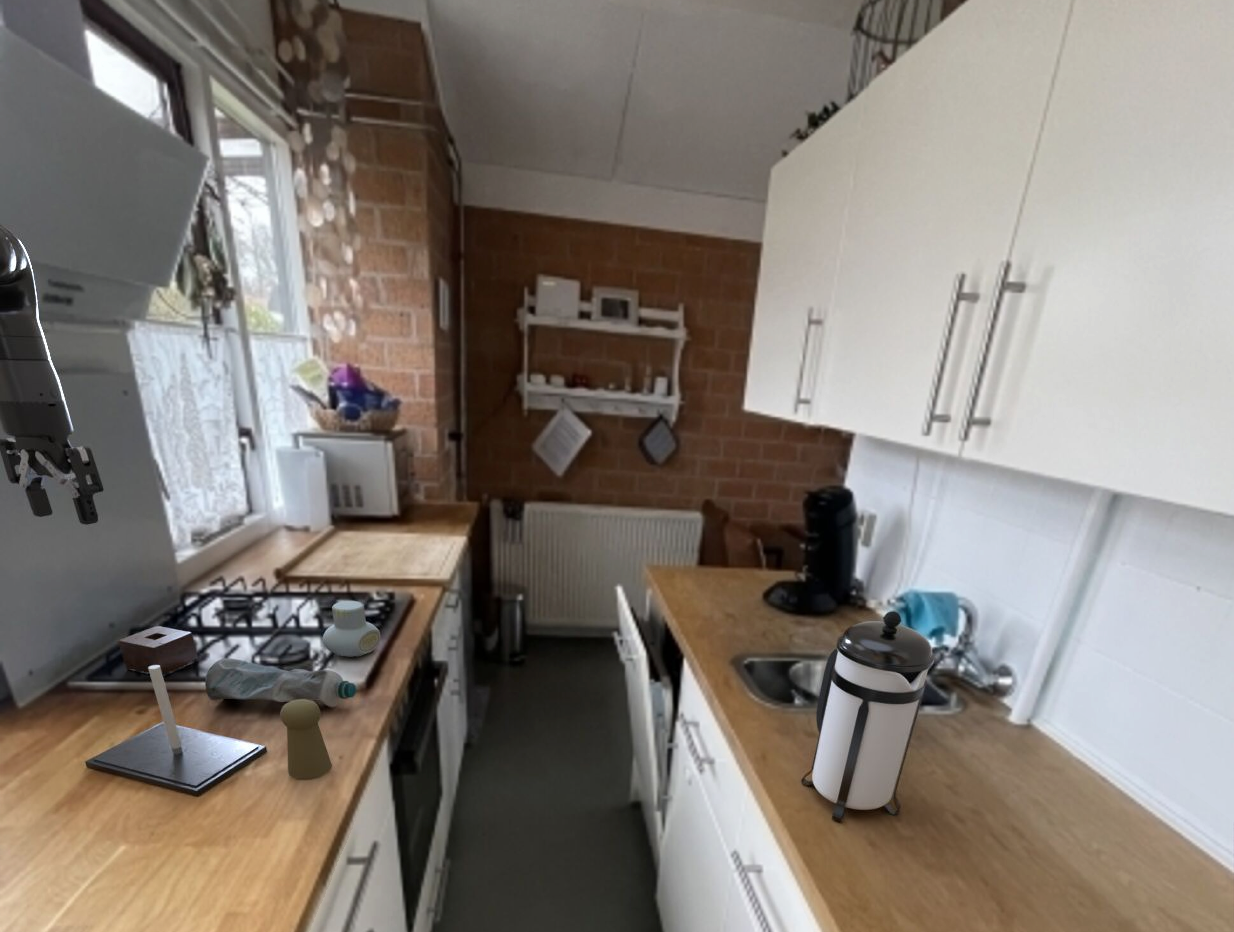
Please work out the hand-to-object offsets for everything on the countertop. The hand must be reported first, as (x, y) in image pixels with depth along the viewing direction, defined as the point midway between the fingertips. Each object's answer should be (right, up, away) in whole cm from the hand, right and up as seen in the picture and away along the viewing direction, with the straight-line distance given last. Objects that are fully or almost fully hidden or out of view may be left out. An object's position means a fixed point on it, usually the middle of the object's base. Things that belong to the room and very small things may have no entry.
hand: (66, 519), depth 100 cm
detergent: (+20, -26, +22) cm, 40 cm away
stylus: (+13, -34, +4) cm, 36 cm away
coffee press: (+113, -40, +8) cm, 121 cm away
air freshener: (+24, -16, +43) cm, 52 cm away
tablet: (+13, -35, +5) cm, 37 cm away
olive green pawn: (+33, -36, +5) cm, 49 cm away
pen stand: (-8, -19, +32) cm, 38 cm away
